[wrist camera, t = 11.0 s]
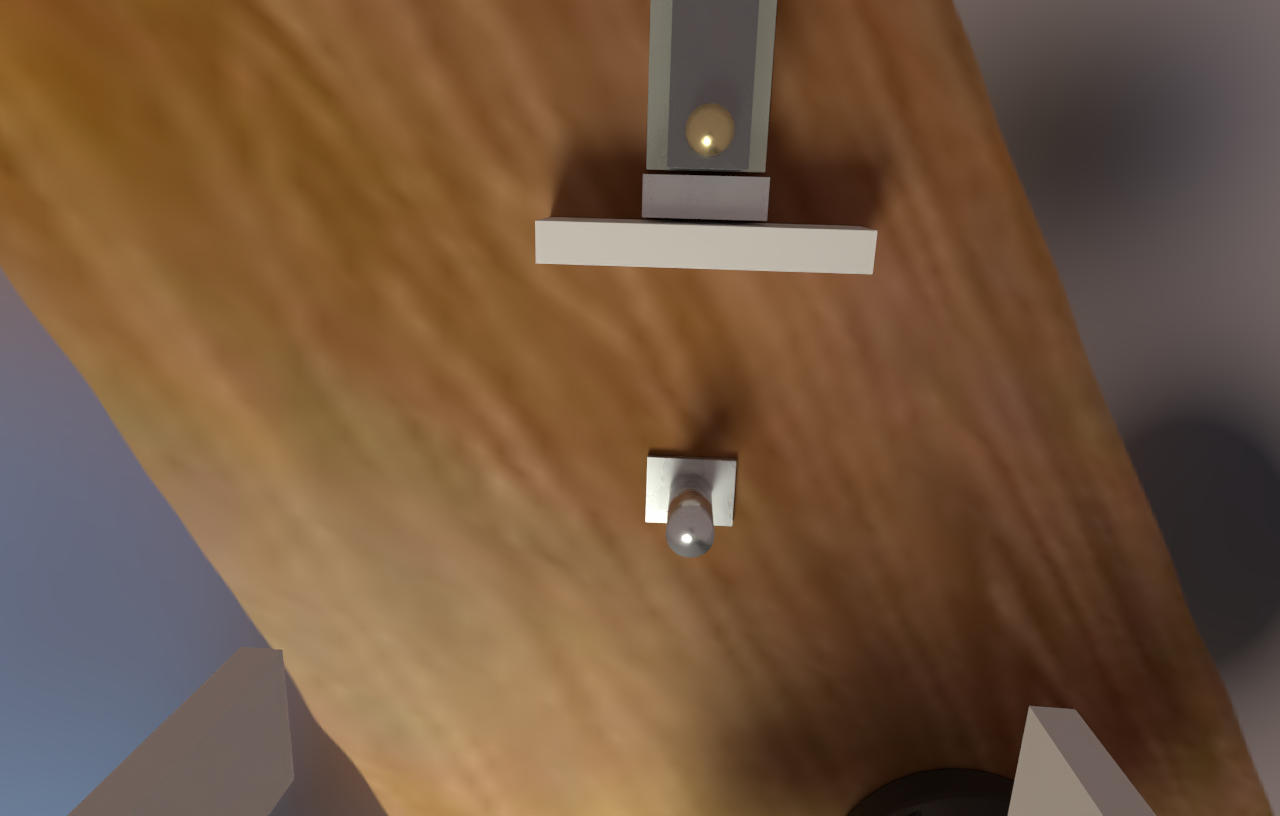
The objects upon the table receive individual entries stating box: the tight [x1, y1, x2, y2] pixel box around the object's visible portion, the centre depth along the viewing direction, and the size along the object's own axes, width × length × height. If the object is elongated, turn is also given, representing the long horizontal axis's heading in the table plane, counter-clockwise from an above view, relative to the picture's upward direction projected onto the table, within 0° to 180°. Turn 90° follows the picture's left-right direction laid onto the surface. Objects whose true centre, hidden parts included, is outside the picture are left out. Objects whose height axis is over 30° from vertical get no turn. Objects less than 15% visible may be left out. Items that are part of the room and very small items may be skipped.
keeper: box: [642, 0, 777, 221], centre depth 36 cm, size 14×6×3 cm, turn 179°
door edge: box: [535, 217, 877, 274], centre depth 38 cm, size 2×16×4 cm, turn 89°
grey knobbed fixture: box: [646, 455, 736, 557], centre depth 41 cm, size 4×5×6 cm
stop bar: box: [667, 0, 759, 171], centre depth 34 cm, size 9×4×7 cm, turn 178°
